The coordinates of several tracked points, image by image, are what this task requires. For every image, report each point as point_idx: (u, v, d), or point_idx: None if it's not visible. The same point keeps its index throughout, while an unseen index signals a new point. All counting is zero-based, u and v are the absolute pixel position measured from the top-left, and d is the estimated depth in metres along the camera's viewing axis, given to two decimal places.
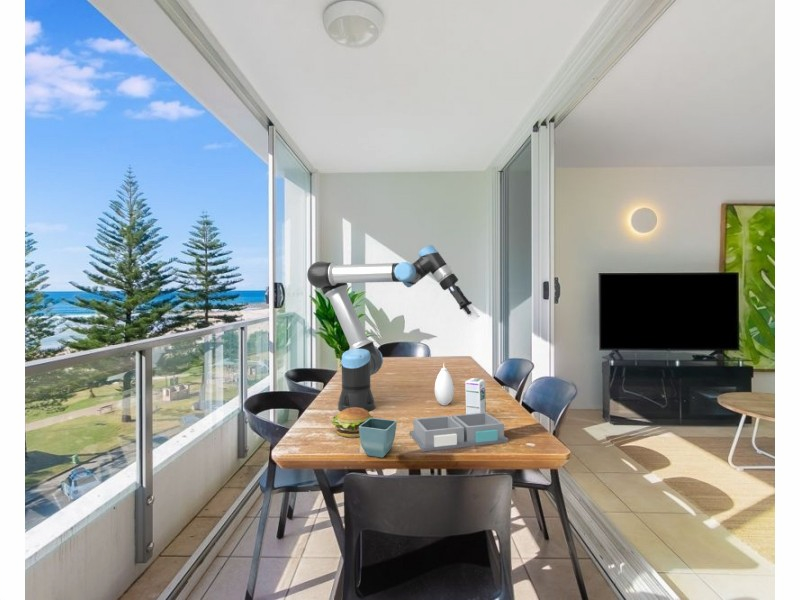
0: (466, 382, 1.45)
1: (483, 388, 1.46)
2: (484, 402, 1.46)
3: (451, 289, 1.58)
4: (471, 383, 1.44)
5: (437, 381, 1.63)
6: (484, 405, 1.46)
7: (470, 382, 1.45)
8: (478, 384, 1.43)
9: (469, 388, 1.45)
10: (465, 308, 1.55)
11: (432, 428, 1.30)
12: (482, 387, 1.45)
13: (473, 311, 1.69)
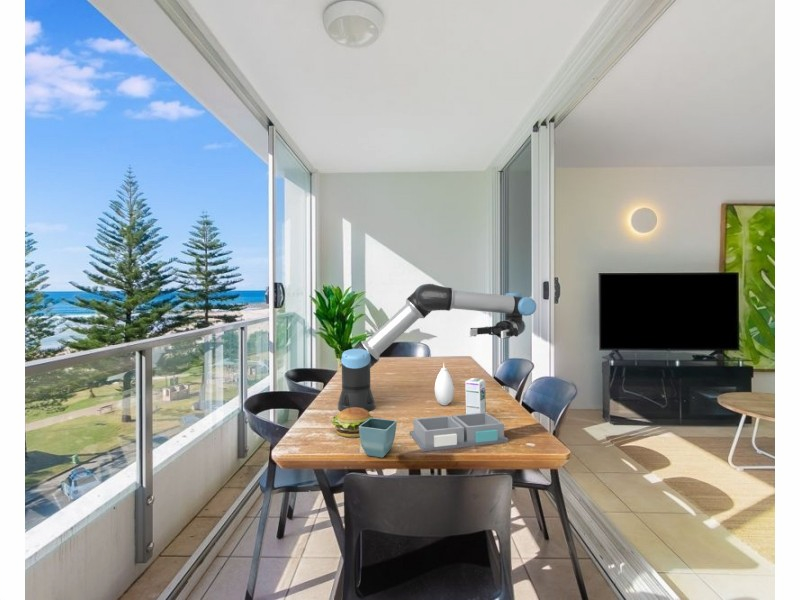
0: (466, 382, 1.45)
1: (483, 388, 1.46)
2: (484, 402, 1.46)
3: None
4: (471, 383, 1.44)
5: (437, 381, 1.63)
6: (484, 405, 1.46)
7: (470, 382, 1.45)
8: (478, 384, 1.43)
9: (469, 388, 1.45)
10: (511, 333, 1.54)
11: (432, 428, 1.30)
12: (482, 387, 1.45)
13: (473, 333, 1.60)
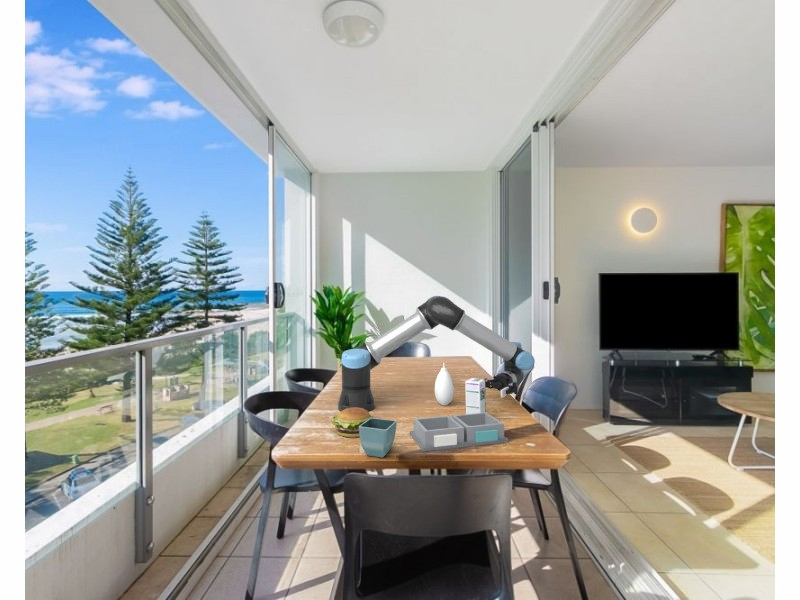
0: (466, 382, 1.45)
1: (483, 388, 1.46)
2: (484, 402, 1.46)
3: None
4: (471, 383, 1.44)
5: (437, 381, 1.63)
6: (484, 405, 1.46)
7: (470, 382, 1.45)
8: (478, 384, 1.43)
9: (469, 388, 1.45)
10: (511, 390, 1.52)
11: (432, 428, 1.30)
12: (482, 387, 1.45)
13: None
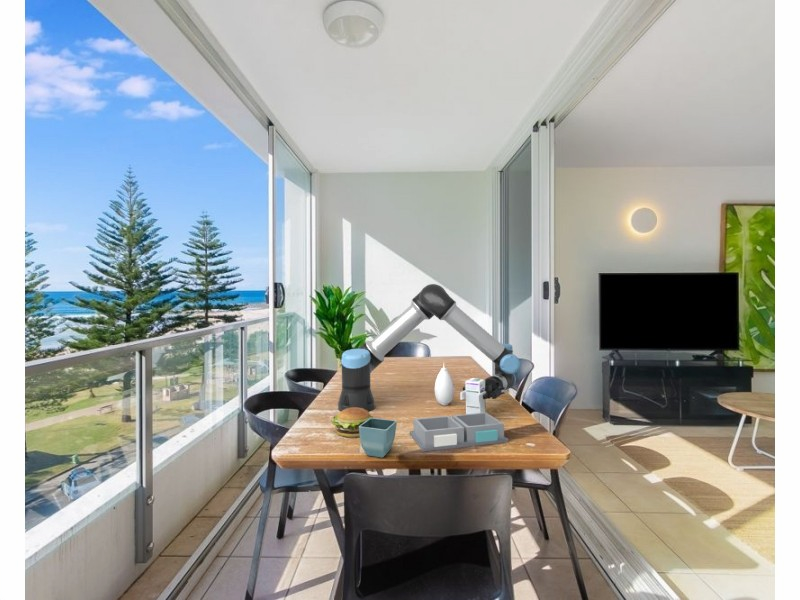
0: (466, 382, 1.45)
1: (483, 388, 1.46)
2: (484, 402, 1.46)
3: (503, 390, 1.51)
4: (471, 383, 1.44)
5: (437, 381, 1.63)
6: (484, 405, 1.46)
7: (470, 382, 1.45)
8: (478, 384, 1.43)
9: (469, 388, 1.45)
10: (488, 395, 1.44)
11: (432, 428, 1.30)
12: (482, 386, 1.45)
13: None
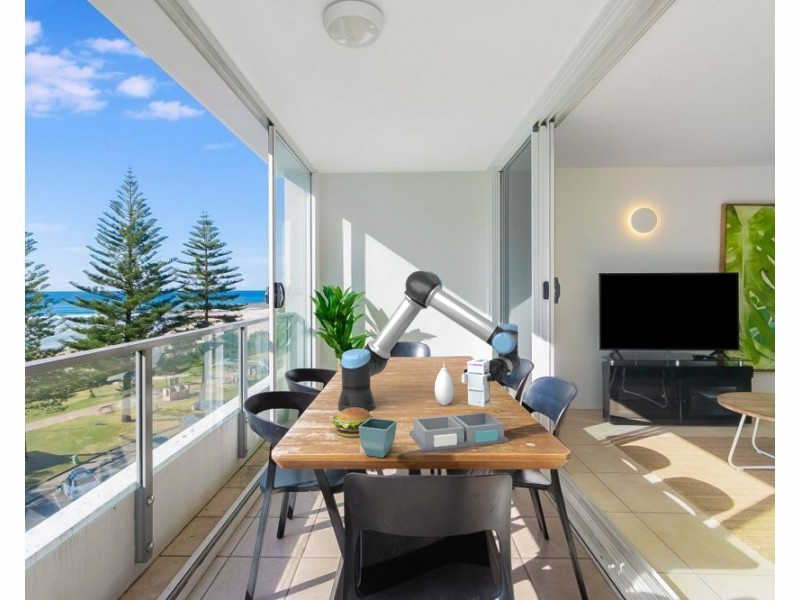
0: (468, 363, 1.30)
1: (487, 370, 1.30)
2: (488, 385, 1.31)
3: (509, 372, 1.36)
4: (474, 364, 1.29)
5: (437, 381, 1.63)
6: (488, 389, 1.31)
7: (473, 363, 1.29)
8: (482, 365, 1.27)
9: (471, 369, 1.29)
10: (493, 377, 1.29)
11: (432, 428, 1.30)
12: (486, 368, 1.30)
13: None
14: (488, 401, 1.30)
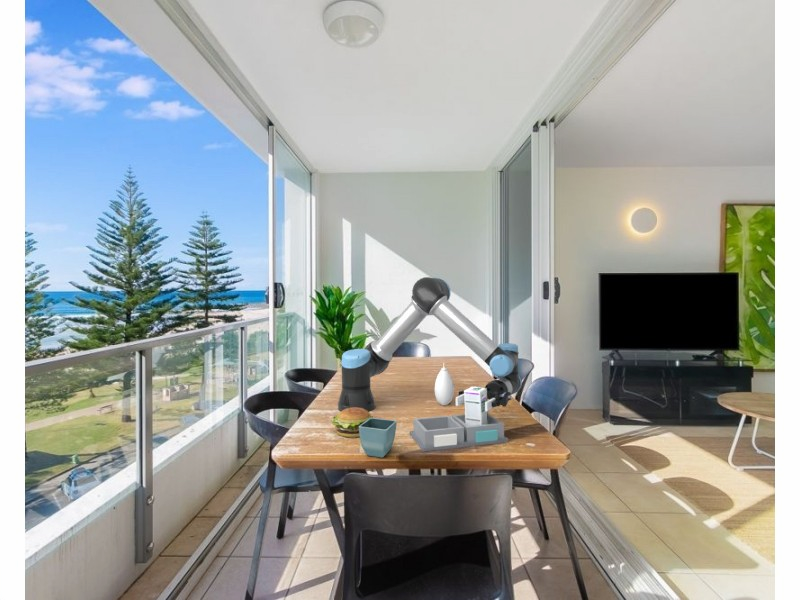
0: (465, 391, 1.28)
1: (485, 398, 1.28)
2: (486, 414, 1.28)
3: (509, 395, 1.34)
4: (470, 392, 1.27)
5: (437, 381, 1.63)
6: (486, 417, 1.28)
7: (469, 391, 1.27)
8: (479, 394, 1.25)
9: (468, 398, 1.27)
10: (498, 402, 1.26)
11: (432, 428, 1.30)
12: (484, 396, 1.27)
13: (462, 401, 1.30)
14: None
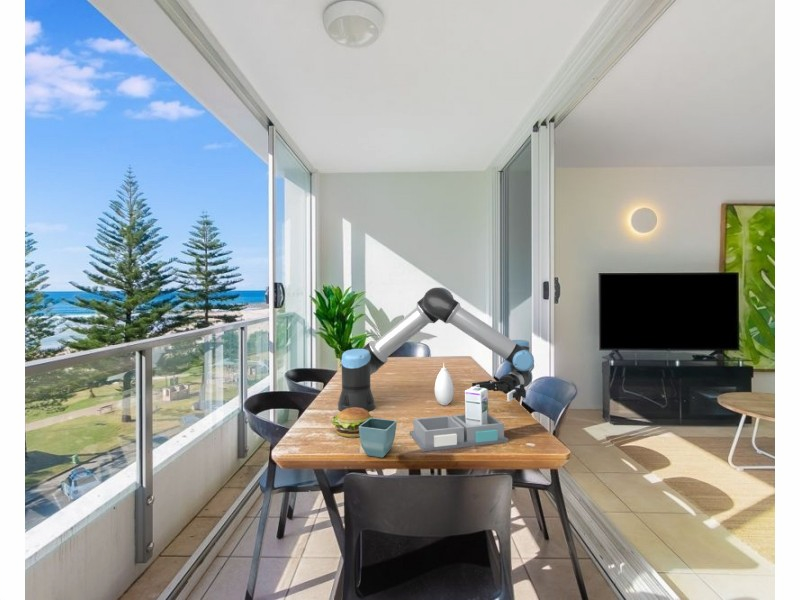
0: (466, 391, 1.28)
1: (485, 398, 1.28)
2: (486, 414, 1.28)
3: (523, 387, 1.45)
4: (471, 393, 1.26)
5: (437, 381, 1.63)
6: (486, 418, 1.28)
7: (470, 391, 1.27)
8: (479, 394, 1.25)
9: (469, 398, 1.27)
10: (518, 394, 1.36)
11: (432, 428, 1.30)
12: (484, 397, 1.27)
13: None
14: None
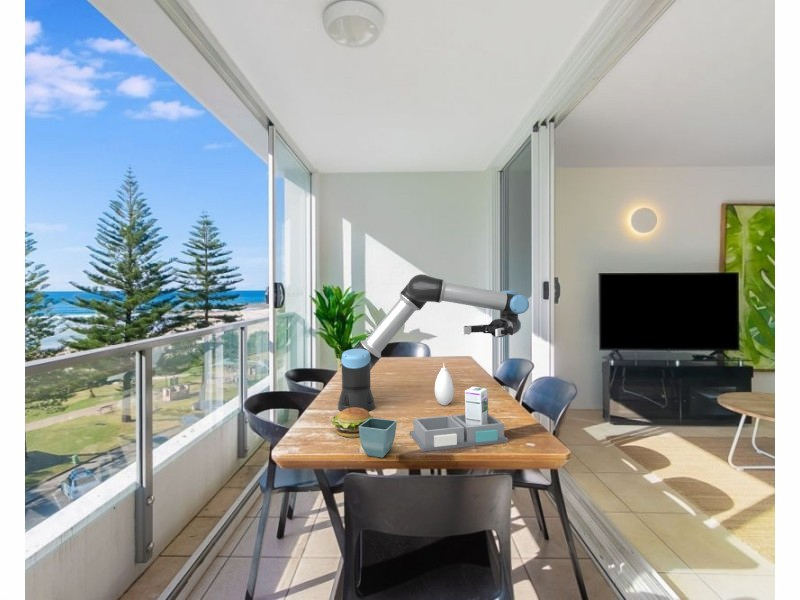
0: (466, 391, 1.28)
1: (485, 398, 1.28)
2: (486, 414, 1.28)
3: None
4: (471, 393, 1.26)
5: (437, 381, 1.63)
6: (486, 418, 1.28)
7: (470, 391, 1.27)
8: (479, 394, 1.25)
9: (469, 398, 1.27)
10: (506, 331, 1.48)
11: (432, 428, 1.30)
12: (484, 397, 1.27)
13: (467, 331, 1.55)
14: None
